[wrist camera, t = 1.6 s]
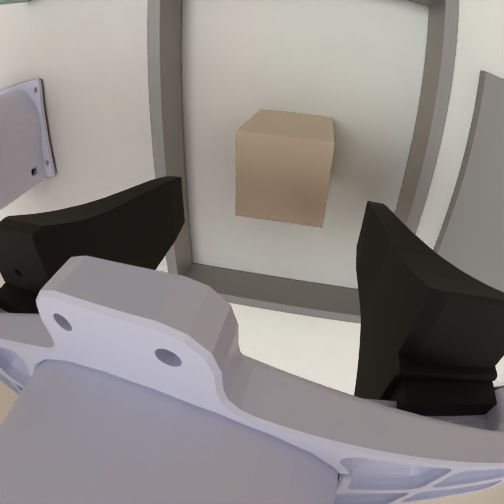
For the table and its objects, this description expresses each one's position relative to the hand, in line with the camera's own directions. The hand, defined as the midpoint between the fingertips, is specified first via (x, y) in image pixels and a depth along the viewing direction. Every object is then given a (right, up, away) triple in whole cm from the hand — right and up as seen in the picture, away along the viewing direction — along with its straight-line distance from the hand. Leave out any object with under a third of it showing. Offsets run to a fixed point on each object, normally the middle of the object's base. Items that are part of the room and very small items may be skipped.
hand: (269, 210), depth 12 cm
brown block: (+2, +5, +8) cm, 10 cm away
